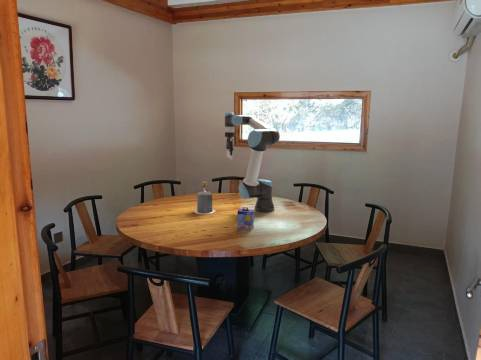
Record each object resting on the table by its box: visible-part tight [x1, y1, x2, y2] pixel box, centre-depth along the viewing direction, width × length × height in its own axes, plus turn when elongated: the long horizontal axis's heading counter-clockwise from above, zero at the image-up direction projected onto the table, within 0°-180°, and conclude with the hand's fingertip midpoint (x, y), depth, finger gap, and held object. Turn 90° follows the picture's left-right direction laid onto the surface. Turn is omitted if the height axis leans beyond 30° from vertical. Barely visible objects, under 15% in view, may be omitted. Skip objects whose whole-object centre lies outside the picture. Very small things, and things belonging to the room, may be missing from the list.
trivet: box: [193, 208, 216, 215], centre depth 276 cm, size 16×16×1 cm
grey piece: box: [196, 191, 213, 213], centre depth 276 cm, size 11×14×14 cm
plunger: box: [201, 180, 208, 193], centre depth 274 cm, size 8×8×19 cm
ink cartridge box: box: [237, 206, 255, 231], centre depth 237 cm, size 10×6×14 cm, turn 78°
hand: (229, 158), depth 300 cm, fingers open, 13 cm apart
